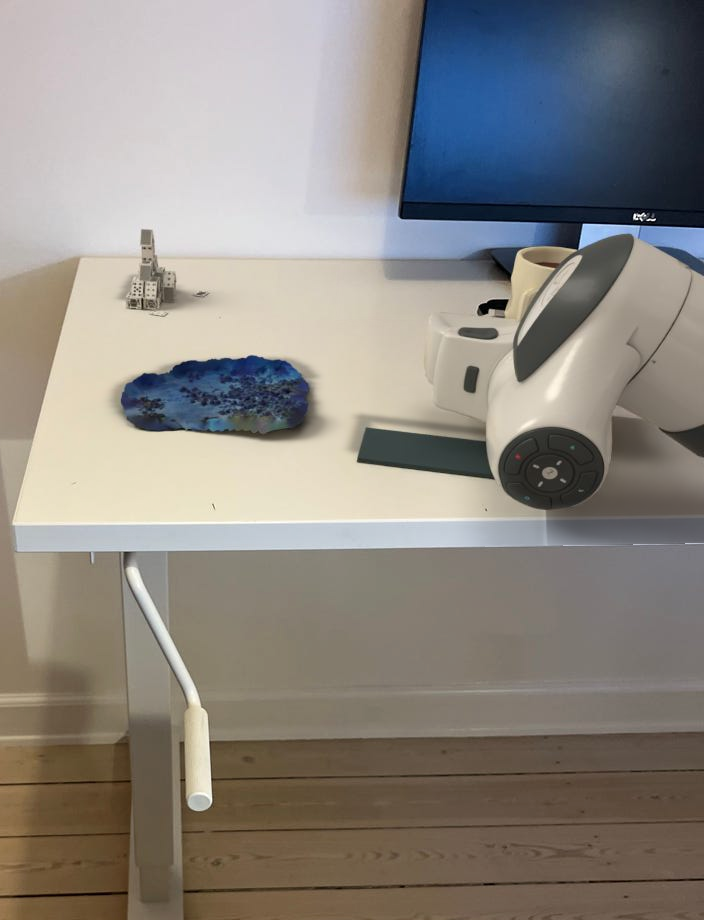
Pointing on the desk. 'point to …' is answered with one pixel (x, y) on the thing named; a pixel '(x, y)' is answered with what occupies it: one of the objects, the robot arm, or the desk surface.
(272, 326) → the desk surface
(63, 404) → the desk surface
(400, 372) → the desk surface
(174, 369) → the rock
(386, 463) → the mat
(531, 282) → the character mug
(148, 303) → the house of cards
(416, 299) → the desk surface
